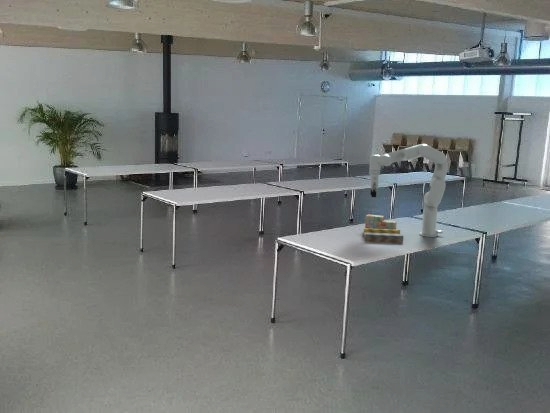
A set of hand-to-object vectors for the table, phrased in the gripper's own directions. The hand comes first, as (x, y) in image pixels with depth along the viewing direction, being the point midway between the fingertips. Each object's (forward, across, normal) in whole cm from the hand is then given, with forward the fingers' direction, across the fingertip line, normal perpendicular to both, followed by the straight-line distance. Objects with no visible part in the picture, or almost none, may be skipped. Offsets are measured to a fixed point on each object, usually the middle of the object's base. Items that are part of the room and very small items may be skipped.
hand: (373, 196), depth 385 cm
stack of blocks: (+27, 0, -7) cm, 28 cm away
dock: (+27, -20, -6) cm, 34 cm away
